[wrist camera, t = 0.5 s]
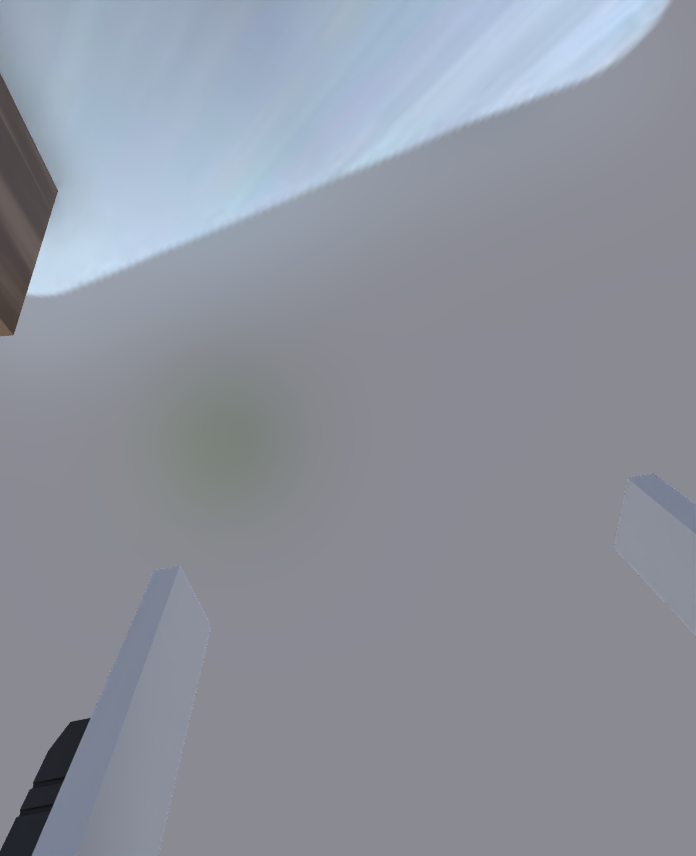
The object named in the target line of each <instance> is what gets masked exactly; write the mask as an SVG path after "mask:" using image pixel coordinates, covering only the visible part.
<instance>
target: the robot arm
mask: <svg viewBox="0 0 696 856" xmlns="http://www.w3.org/2000/svg"><path fill="white" fill-rule="evenodd" d="M614 548H615V550H616V551H617V552H618V553H619V554H620V555H621V556H622V557H623V558H624V559H625V560H626V561H627V563H628V564H629V565H630V566H631V567H632V568H633V569H634V570H635V571H636V572H637V573H638V574H639V576H641V578H642V579H643V580H644V581H645V582H646V583H647V584H648V585H649V586H650V587H651V588H652V590H653V591H654V592H655V593H656V594H657V595H658V596H659V597H660V598H661V599H662V600H663V601H664V603H666V604H667V606H668V607H669V608H670V609H671V610H672V611H673V612H674V613H675V614H676V616H677V617H678V618H679V619H681V621H682V622H683V623H684V624H685V625H686V626H687V627H688V628H689V630H690V631H691V632H692V633H693V634H694V635H695V636H696V504H694V503H693V502H691V501H690V500H689V499H688V498H686V497H685V496H684V495H682V494H681V493H679V492H678V491H677V490H675V489H674V488H672V487H671V486H670V485H669V484H667V483H666V482H665V481H663V480H662V479H661V478H659V477H658V476H657V475H655V474H654V473H652V474H647V475H642V476H637V477H632V478H628V479H627V483H626V488H625V493H624V499H623V504H622V509H621V514H620V519H619V524H618V529H617V534H616V539H615V544H614ZM210 630H211V625H210V623H209V621H208V619H207V617H206V615H205V613H204V611H203V609H202V607H201V605H200V603H199V601H198V599H197V597H196V596H195V594H194V592H193V590H192V588H191V586H190V584H189V582H188V580H187V578H186V576H185V574H184V572H183V570H182V568H181V567H180V566H175V567H170V568H164V569H159V570H154V571H153V574H152V576H151V578H150V581H149V583H148V585H147V588H146V590H145V592H144V595H143V597H142V599H141V602H140V604H139V606H138V609H137V611H136V614H135V616H134V618H133V620H132V623H131V625H130V627H129V630H128V632H127V634H126V637H125V639H124V642H123V644H122V646H121V648H120V651H119V653H118V655H117V658H116V660H115V662H114V665H113V667H112V669H111V672H110V674H109V676H108V679H107V681H106V683H105V686H104V688H103V690H102V693H101V695H100V697H99V700H98V702H97V704H96V707H95V709H94V711H93V714H92V716H91V718H88V719H83V720H78V721H73V722H70V724H69V725H68V726H67V727H66V729H65V730H64V731H63V733H62V734H61V735H60V736H59V738H58V739H57V740H56V742H55V743H54V744H53V746H52V747H51V748H50V750H49V751H48V753H47V755H46V757H45V759H44V761H43V763H42V765H41V767H40V769H39V772H38V774H37V776H36V778H35V780H34V782H33V788H32V789H30V790H29V792H28V795H27V796H26V799H25V801H24V803H23V805H22V807H21V809H20V815H19V817H17V818H16V819H15V821H14V824H13V826H12V828H11V830H10V832H9V834H8V836H7V838H6V840H5V842H4V844H3V846H2V849H1V851H0V856H158V855H159V851H160V847H161V843H162V838H163V833H164V830H165V825H166V821H167V816H168V812H169V808H170V803H171V799H172V795H173V790H174V786H175V782H176V777H177V773H178V768H179V764H180V760H181V756H182V751H183V747H184V743H185V738H186V734H187V730H188V725H189V721H190V717H191V712H192V707H193V704H194V699H195V695H196V691H197V686H198V682H199V677H200V673H201V669H202V665H203V660H204V656H205V651H206V647H207V643H208V638H209V634H210Z"/></svg>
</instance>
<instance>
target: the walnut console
mask: <svg viewBox="0 0 696 856" xmlns="http://www.w3.org/2000/svg"><path fill="white" fill-rule="evenodd" d="M57 192H58V190H57V188H56V186H55V184H54V182H53V180H52V178H51V176H50V174H49V172H48V170H47V168H46V166H45V164H44V162H43V160H42V158H41V156H40V154H39V152H38V150H37V148H36V146H35V144H34V142H33V140H32V138H31V136H30V134H29V131H28V129H27V127H26V125H25V123H24V121H23V119H22V117H21V115H20V113H19V111H18V109H17V107H16V105H15V103H14V101H13V99H12V97H11V95H10V93H9V91H8V89H7V87H6V85H5V83H4V81H3V79H2V77H1V75H0V336H9V335H14V332H15V329H16V326H17V322H18V319H19V316H20V312H21V309H22V306H23V303H24V299H25V296H26V293H27V290H28V286H29V283H30V280H31V277H32V273H33V270H34V267H35V264H36V260H37V257H38V254H39V251H40V247H41V244H42V241H43V237H44V234H45V231H46V228H47V224H48V221H49V218H50V215H51V211H52V208H53V205H54V202H55V198H56V195H57Z"/></svg>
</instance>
